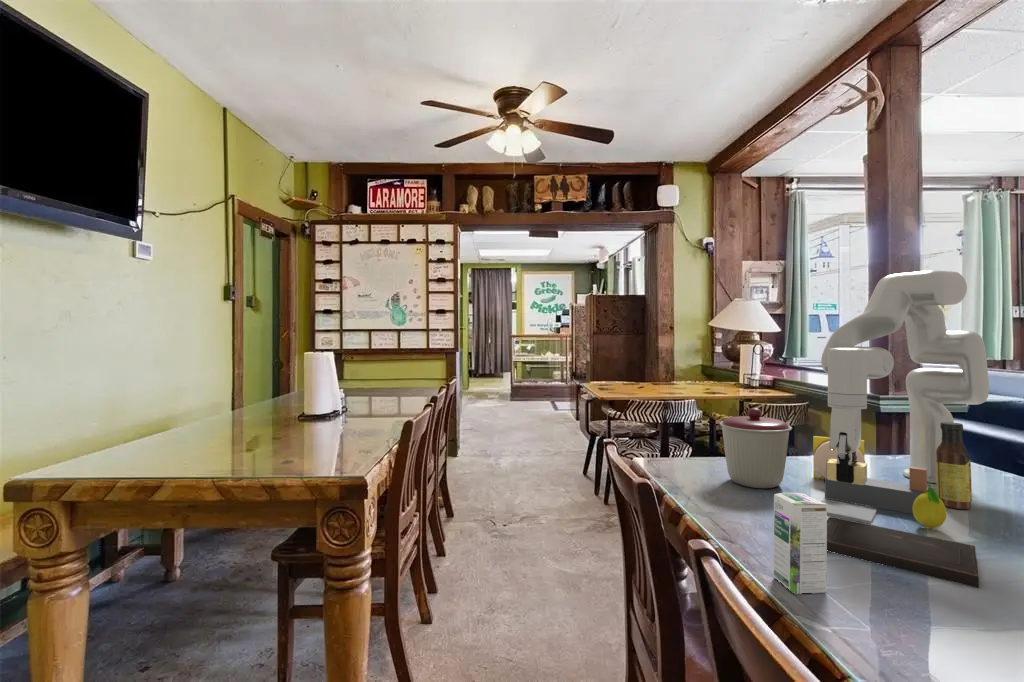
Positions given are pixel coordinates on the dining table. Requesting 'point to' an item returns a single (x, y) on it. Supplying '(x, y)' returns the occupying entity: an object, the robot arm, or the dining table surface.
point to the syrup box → (800, 543)
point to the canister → (755, 449)
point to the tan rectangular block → (858, 472)
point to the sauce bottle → (953, 468)
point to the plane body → (880, 491)
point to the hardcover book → (904, 550)
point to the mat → (850, 511)
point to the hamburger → (828, 455)
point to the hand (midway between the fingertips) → (847, 478)
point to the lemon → (929, 509)
